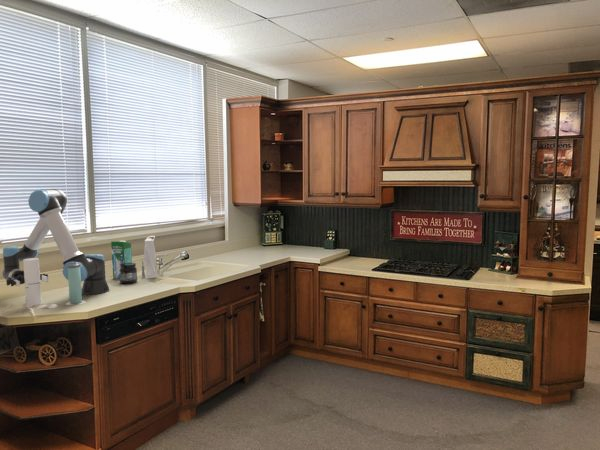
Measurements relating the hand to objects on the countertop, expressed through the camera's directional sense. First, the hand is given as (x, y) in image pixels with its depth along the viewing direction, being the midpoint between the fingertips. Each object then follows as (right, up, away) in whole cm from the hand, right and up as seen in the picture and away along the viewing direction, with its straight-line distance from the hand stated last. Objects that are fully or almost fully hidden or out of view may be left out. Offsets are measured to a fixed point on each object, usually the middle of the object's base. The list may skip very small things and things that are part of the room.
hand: (33, 281), depth 254 cm
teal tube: (+20, -11, +3) cm, 24 cm away
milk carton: (+19, -6, +75) cm, 78 cm away
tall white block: (-1, -14, +3) cm, 14 cm away
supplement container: (+29, -8, +59) cm, 66 cm away
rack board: (+14, -13, -1) cm, 20 cm away
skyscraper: (+38, -6, +74) cm, 83 cm away
